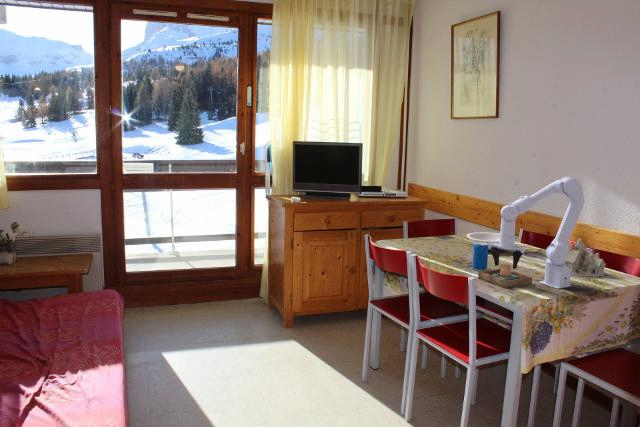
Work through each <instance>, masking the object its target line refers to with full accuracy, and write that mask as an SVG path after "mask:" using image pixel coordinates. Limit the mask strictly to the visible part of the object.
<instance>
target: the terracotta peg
mask: <svg viewBox="0 0 640 427" xmlns="http://www.w3.org/2000/svg"><path fill="white" fill-rule="evenodd" d="M511 266H512V265H511V264H509V263H500V266H499V269H500V277H503V278H510V270H512V269H511V268H512V267H511Z"/></svg>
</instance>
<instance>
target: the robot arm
mask: <svg viewBox="0 0 640 427" xmlns="http://www.w3.org/2000/svg"><path fill="white" fill-rule="evenodd" d="M553 194H564V195H565V196H566V198H567V200H568V201H569V203H568V205H567V208H566V210H565V213H564V215H563V218H562V221H561V223H560V225H559V228H558V230H557V232H556V236H555V238H554V239H553V240H552V241H551V243H550V245H548V246H547V247H546V249H545V255H546V257H547V259H546V260H545V267H544V279H543V280H540V281H539V284H542V285H545V286H548V287H551V288H555V289H558V290H559V289H564V288H569V287H572V285H571V279H572V278H571V276H572V275H571V270H570V268H569V267H567V266H566V265H565V261H566V252H567V249H568V244H569V241H570V238H571V237H572V236H571V235H572V234H573V231H574V229H575V226H576V224H577V222H578V219H579V217H580V214H581V212H582V209H583V207H584V204H585V197H584V191H583V186H582V184H581V183H580V181H579V180H577V178H576V179H575V178H573V177H571V176H568V175H567V176H563V177H561V178H560V179H557V180H556V179H555V181H552V182H551V183H550V184H548V185H546V186H544V187H543V188H541V189H540V190H538V191H536V192H535V193H533V194H531V195H528V194H527V195H526V194H525V195H524V196H523V195H521V196H519V198H518V199H517V200H515V201H513V202H511V201H510V202H509V205H508V204H507V205H504V206H503V207H501V210H500V212H499V213H500V216H501V218H500V221H501V222H500V228H499V229H500V230H499V231H500V232H499V233H500V243H492V242H491V243H489V248H491V249H490V250H489V251H490V254H491V255H492V257H493V262H494V266H495V267H497V266H499V265H500V254H501V250H505V251H510V252H512V259H513V260H512V270H516V269H517V268H518V264H519V262H520V259H521V257H522V256H523V254H524V253H526V247H525V246H521V245H515V240H516V239H515V238H516V237H515V235H516V219H517V218H518V216H520V215H523V214H524V213H526V212H528V211H529V210H531V209H533V208H534V207H535V203H536V204H537V202H540V201H541V200H543V199H545V198H547V197H549V196H551V195H553Z"/></svg>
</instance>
